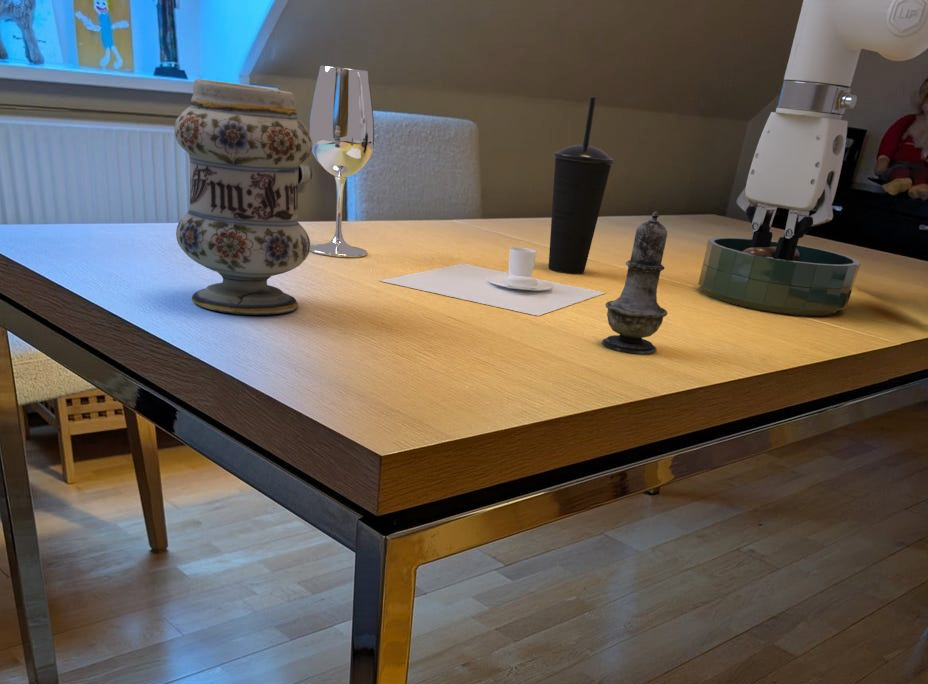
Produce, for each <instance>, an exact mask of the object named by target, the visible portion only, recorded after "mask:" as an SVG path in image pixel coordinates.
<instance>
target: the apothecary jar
mask: <svg viewBox="0 0 928 684" xmlns="http://www.w3.org/2000/svg"><path fill="white" fill-rule="evenodd" d="M173 129H174V137H175V139H176V142H177V144H178V145H179V146H180V147H181V148H182V149H183V151H185V152H186V153H187V154H188V157H189V182H190V183H189V210H188V211H187V212H185V214H184V215H183V216H182V217H181V218H180V220H179V221H178V224H177V225H176V232H175V236H176V241H177V244H178V246H179V247H180V249H181V250H182V251H183V253H185V255H187V257H189V258H190V259H191V260H192V261H194V262H195V263H197V264H199V265H201V266H203V267H205V268H207V269H208V270H211V271H213V272H216V273H218V274H219V275H220V277H222V282H217V283H212V284H209V285H207V286H206V287H205V288H201V289H199V290H197V291H196V292H194V293H193V294H192V296H191V301H192V302H193V303H194V304H195V305H197V306H199V307H200V308H203V309H206V310H211V311H216V312H220V313H228V314H234V315H235V314H236V315H252V316H253V315H255V316H256V315H257V316H260V315H261V316H262V315H263V316H265V315H268V316H269V315H279V314H285V313H290V312H293V311H295V310H297V309H298V306H299V305H298V304H299V303H298V300H297V299H296V297H294V296H293V295H290V294H289V293H286V292H284V291H283V290H282V289H280V288H278V287H276V286H273V285H269V284H268V280H269V279H271V277H273V276H278V275H281V274H285V273H287V272H290V271H293V270H295V269H296V268H298V267H300V265H302V264H303V263H304V262H305V260H306V259H307V258H308V256H309V254H310V245H311V241H310V240H311V239H310V236H309V235H308V232H307V231H306V229H305V228H304V227H303V226H302V225H301V224H300V223H299V172H300V166H301V165H302V164H303V163H305V162H306V161H307V160H308V159H309V158H310V155H311V154H312V139H311V136H310V134H309V129H308V128H307V127H306V125H304V123H303V122H301V120H299V119H298V112H297V109H296V106H295V95H294V93H293V92H291V91H287V90H286V91H285V90H281V89H280V90H279V89H274V88H269V87H268V88H267V87H263V86H262V87H261V86H254V85H249V84H248V85H247V84H240V83H235V82H233V83H232V82H226V81H218V80H209V79H201V78H195V79H194V81H193V83H192V96H191V98H190V105H189V106H188V107H187V108H185V109H184V110H183V111H181V112H180V113H179V115H178V116H177V117H176V120H175V122H174V128H173Z"/></svg>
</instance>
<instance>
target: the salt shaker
mask: <svg viewBox="0 0 928 684" xmlns="http://www.w3.org/2000/svg"><path fill="white" fill-rule="evenodd" d="M659 217H660V215H659V212H658V211H657V210H654V211H653V213H652V214H651V219H649V220H648V221H645V222H643V223H641V224H639V225H638V226H637V228H636V230H635V233H634V240H633V245H632V249H631V255H630V259H629V260H627V261H626V262H625V265H626V266H627V272H626V277H625V283H624V287H623V289H622V291H621V293H620V295H619V296H618V297H617V298H616V299H614V300H609V301H607V302H605V308H606V309H607V312H606V318H607V322H608V325H609V327H610V328H611V330H612V332H614V333H616V334H614V335H609V336H608V337H605V338H603V339H602V340H601V345H603V346H604V347H606V348H607V349H611V350H614V351H617V352H621V353H626V354H627V353H628V354H634V355H650V354H654V353H656V352H657V347H656V346H655V345H654V344H653V342H651V341H649V340H647V339H644V338H649V337H651V336H652V335H654V334H655V333H657V331H658V330H659V329H660V327H661V326H662V324H663V320H664V317H666V316H668V314H669V312H668V311H667V309H665V308H663V307H661V306H660V304H659V303H658V294H657V290H658V286H659V285H658V284H659V281H660V275H661V273H662V271H664V270H665V266H664V265H663V264H662V263H663V262H662V261H663V257H664V254H665V253H664V252H665V247H666V244H667V238H668V229H667V228H666V227H665V225H663V224H662V223H661V222H660V221H659V220H658V218H659Z"/></svg>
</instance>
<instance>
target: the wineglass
mask: <svg viewBox="0 0 928 684" xmlns="http://www.w3.org/2000/svg"><path fill="white" fill-rule="evenodd" d="M374 118H375V117H374V109H373V100H372V91H371V85H370V77H369V71H368V70H362V69H355V68H354V69H353V68H346V67H337V66H329V65H320V66H319V71H318V76H317V79H316V84H315V89H314V94H313V100H312V105H311V110H310V118H309V126H308V127H309V128H308V132H309V134H310V136H311V139H312V151H311V154H312V155H313V157H314V158H315V159H314V160H316V162H317V163H318V164H319V166H321V168H322V169H323V170H325V171H326V172H327V173H328V174H330V175H332V176H333V177H334V180H335V186H336V213H335V214H336V215H335V231H334V236H333V238H332V239H331V240H329V241H328V242H326V243H315V244H310V250H309V252H312V253H315V254H316V255H317V254H318V255H321V256H329V257H334V258H351V259H352V258H363V257H366V256H367V255H368V251H367V250H366V249H364V248H361V247H358V246H352V245H350V244H348V243H347V242H346V241H345V239H344V237H343V230H342V227H343V226H342V225H343V224H342V222H343V199H344V191H345V190H344V189H345V183H346V181H347V178H349V177H352V176H354V175H355V174H357V173H359V172H360V171H361V170H362V169H363V168H365V166H366V165H367V164H368V162H369V160H370V159H371V158H372V157H371V156H372V154H373V151H374V145H375V119H374Z"/></svg>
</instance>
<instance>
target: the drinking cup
mask: <svg viewBox="0 0 928 684" xmlns="http://www.w3.org/2000/svg"><path fill="white" fill-rule="evenodd" d="M596 100H597V97H595V96H594V97H593V96H590V98H589V105H588V111H587V117H586V124H585V130H584V136H583V143H582V144H573V145H569V146H566V147H564V148H562V149H560V150H558V151H555V152H553V158H554V173H553V190H552V205H551V222H550V223H551V224H550V235H549V253H548V270H551V271H554V272H556V273H557V272H558V273H563V274H571V275H582V274H584V273H585V271H586V267H587V263H588V259H589V255H590V251H591V247H592V243H593V238H594V235H595V231H596V227H597V222H598V219H599V214H600V212H601V207H602V204H603V199H604V195H605V191H606V187H607V183H608V179H609V174H610V171H611V168H612V165H614V163H615V159H614V158H611V157H610V156H609V155H608V154H607V153H606V152H605V151H604V150H602V149H600V148H598V147H596V146H593V145H589V144H590V139H591V131H592V127H593V126H592V125H593V119H594V113H595V107H596V102H597V101H596Z"/></svg>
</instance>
